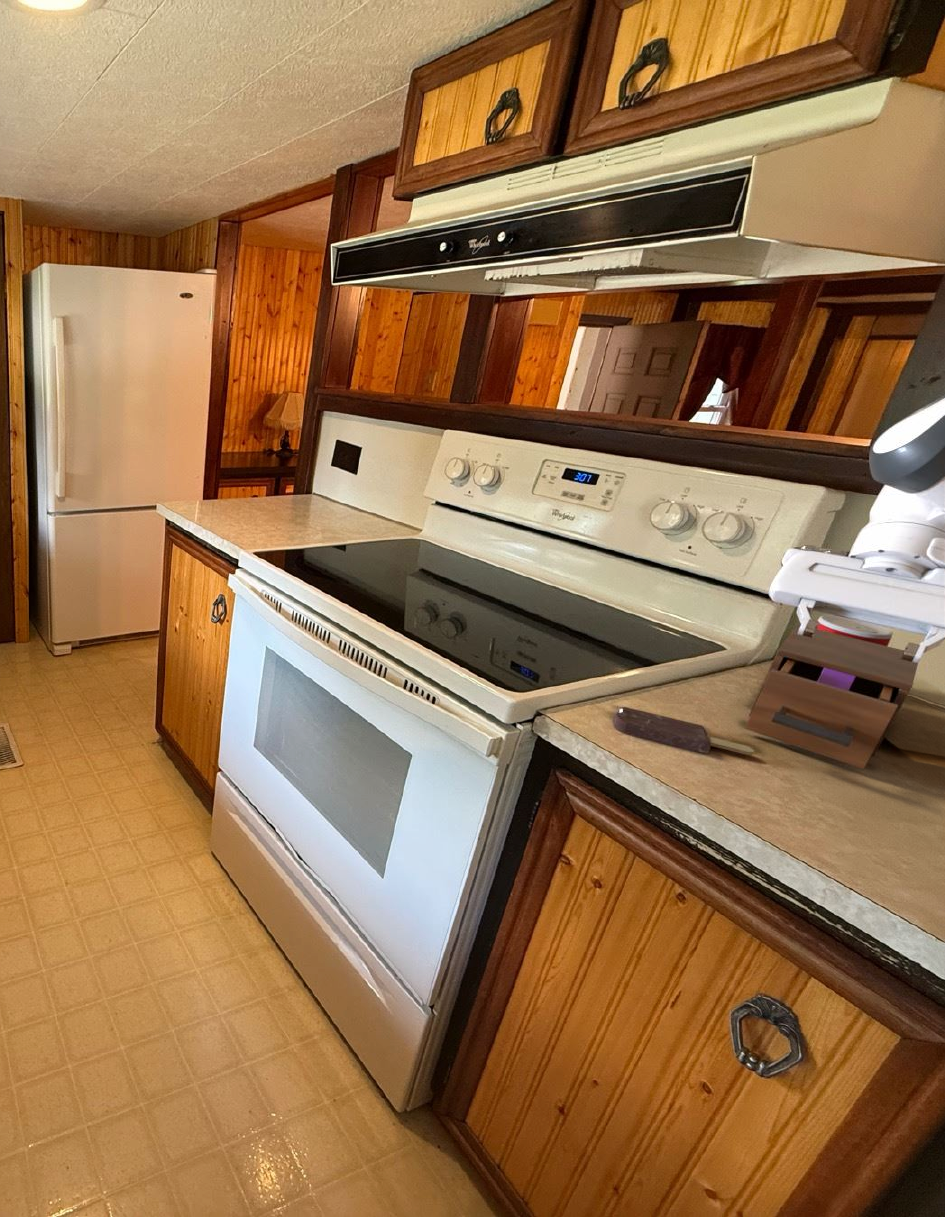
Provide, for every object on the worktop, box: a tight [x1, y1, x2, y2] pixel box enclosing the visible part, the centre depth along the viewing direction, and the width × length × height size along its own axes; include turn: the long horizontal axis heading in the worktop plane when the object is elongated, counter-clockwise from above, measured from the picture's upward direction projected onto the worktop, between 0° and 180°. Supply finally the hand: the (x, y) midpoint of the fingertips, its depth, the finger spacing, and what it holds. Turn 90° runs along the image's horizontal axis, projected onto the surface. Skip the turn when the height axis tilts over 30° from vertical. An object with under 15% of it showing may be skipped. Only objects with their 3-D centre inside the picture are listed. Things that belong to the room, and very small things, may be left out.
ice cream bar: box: [612, 706, 755, 756], centre depth 87 cm, size 5×2×15 cm
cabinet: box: [748, 624, 919, 757], centre depth 93 cm, size 16×13×11 cm
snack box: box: [817, 668, 856, 691], centre depth 87 cm, size 4×3×7 cm
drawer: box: [744, 658, 898, 770], centre depth 86 cm, size 19×11×9 cm, turn 129°
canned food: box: [817, 614, 893, 647], centre depth 101 cm, size 8×8×11 cm
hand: (855, 646), depth 84 cm, fingers open, 8 cm apart
